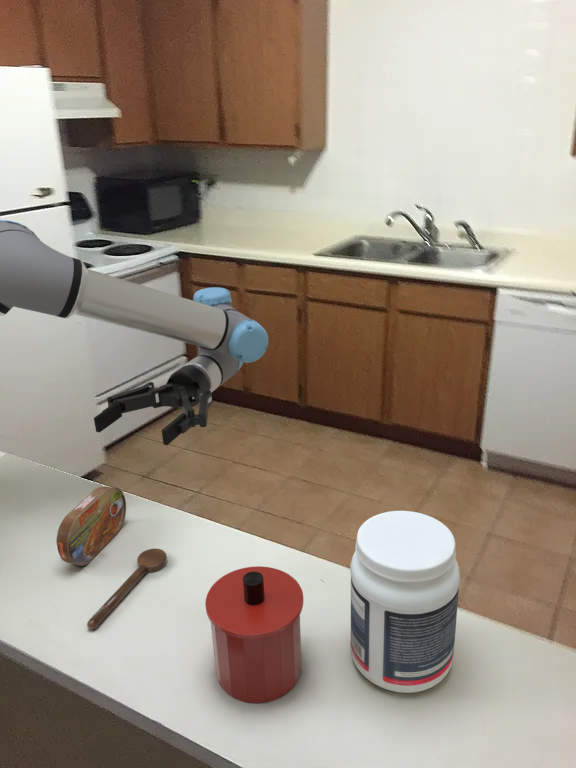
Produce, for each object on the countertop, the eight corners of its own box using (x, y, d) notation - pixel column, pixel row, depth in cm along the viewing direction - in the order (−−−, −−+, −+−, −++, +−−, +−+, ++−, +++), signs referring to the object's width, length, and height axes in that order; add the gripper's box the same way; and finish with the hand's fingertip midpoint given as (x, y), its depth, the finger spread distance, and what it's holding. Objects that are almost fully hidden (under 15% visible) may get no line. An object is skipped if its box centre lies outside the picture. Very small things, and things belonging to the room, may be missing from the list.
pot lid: (187, 626, 77) (184, 598, 75) (233, 565, 87) (231, 538, 85) (280, 654, 73) (278, 625, 71) (317, 586, 82) (317, 559, 81)
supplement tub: (467, 643, 86) (479, 525, 79) (429, 717, 76) (439, 590, 69) (376, 607, 93) (379, 495, 85) (331, 670, 83) (330, 550, 75)
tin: (75, 577, 100) (66, 531, 97) (58, 573, 101) (48, 527, 98) (130, 520, 113) (123, 478, 110) (114, 517, 114) (107, 475, 111)
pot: (201, 687, 81) (193, 621, 77) (240, 627, 90) (235, 564, 86) (281, 714, 77) (277, 646, 73) (313, 648, 86) (312, 584, 82)
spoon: (103, 636, 89) (101, 628, 89) (76, 627, 91) (75, 619, 90) (172, 557, 104) (171, 550, 103) (148, 551, 106) (147, 544, 105)
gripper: (253, 408, 126) (196, 463, 109) (142, 391, 136) (73, 439, 118) (250, 372, 123) (192, 422, 106) (137, 357, 133) (66, 400, 115)
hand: (129, 431), depth 112 cm, fingers open, 13 cm apart
